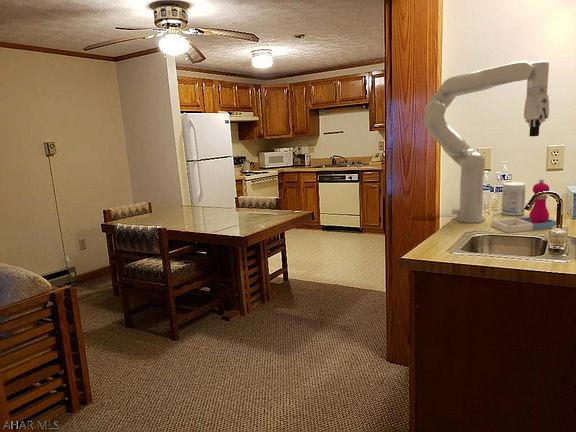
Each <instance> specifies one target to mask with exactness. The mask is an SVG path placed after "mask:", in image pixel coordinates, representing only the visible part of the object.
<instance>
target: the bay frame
mask: <svg viewBox="0 0 576 432" xmlns="http://www.w3.org/2000/svg"><path fill="white" fill-rule="evenodd" d="M531 221H532V220H531V219H530V217H529V216H524V217H516V218H515V217H514V218H503V219H493V220H491V221H490V222H491V224H490V226H491V227H493V228H495V229H498V230H500V231H502V230H503V232H505V233H507V234H508V233H517V232H519V233H520V232H529V231H538V230H539V229H540V230H548V229H549V230H550V228H551V227H553V226H555V225H556V221H557V220H554V219H551V218H549V219H548V220H547V221H546V222H547V223H536V224H533V223H530V222H531ZM551 229H552V228H551Z"/></svg>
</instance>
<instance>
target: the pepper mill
mask: <svg viewBox="0 0 576 432" xmlns="http://www.w3.org/2000/svg"><path fill="white" fill-rule="evenodd" d="M543 191H549V192H550V186H549V184H547V183H545V180H544V179H543V178H542V179H539V181H538V182H537V183H535V184H534V185H533V187H532V192H533V193H534V194H533V196H534V195H535V194H537V193H539V192H543ZM547 199H548V196H546V195H545V196H541V197H539V198H538V199H537V200H536V201H535V200H534V202H535V203H534V202H533V206H532V208H531V210H530V212H529V215H528V217H530V219H531V220H532V221H531V222H530V223H533V224H536V223H547V222H546V221H547V220H548V219H550V213H549V211H548V208H547V204H546V202H547Z"/></svg>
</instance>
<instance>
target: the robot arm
mask: <svg viewBox="0 0 576 432" xmlns="http://www.w3.org/2000/svg"><path fill="white" fill-rule="evenodd" d="M549 67H550V63H549V61H548V60H537V61H536V60H535V61H531V62H529V61H527V60H519V61H516V62H511V63H508V64H503V65H499V66H495V67H490V68H483V69H479V70H476V71H472V72H467V73H462V74H460V75H456V76H451V77H448V78H447V79H445V80H444V81H443V83H442V84H441V85H440V87H439V88H438V89H437V90H436V92H435V93H434V95H433V96H432V97H431V98H430V100H429V101H428V102H427V104H426V105H425V106H424V107H425V108H424V112H425V113H424V119H423V120H424V125H425V129H426V131H427V132H428V134H429V135H430V136H431V137H432V138H433V139H434V140H435V141H436V143H438V144H439V146H440V147H441V148H442V149H443V151H444V152H445V154H446V155H448V156H449V157H450V158H451V159H452V160H453V162H455V163H456V164H457V165H458V166H459V167H460V179H459V180H460V183H459V187H460V190H459V209H455V208H453V209H452V211H451V213H452V214H453V215H456V216H455V220H456V221H458V222H461V223H468V224H469V223H470V224H477V223H478V224H479V223H484V222H485V221H486V217H485V215H484V216H483V201H484V200H483V196H484V175H485V168H486V162H485V157H484V155H482V154H481V152H478V151H476V150H475V149H474V148H472V147H471V145H469V143H467V141H466V139H465V138H464V137H463V136H461V135H460V134H459V133H458V132H457V131H456V130H455V129H453V127H451V126H450V124H449V123H448V121H446V119H445V114H446V111H447V109H448V107H449V106H450V105H451V104H452V102H453V101H454V99H455V98H456V97H459V96H463V95H464V96H465V95H467V94H468V95H469V94H471V93H477V92H481V91H485V90H490V89H492V88H495V87H497V86H502V85H506V84H509V83H510V84H511V83H514V82H520V81H525V80H527V81H526V98H525V102H524V108H523V109H524V110H523V119H525V123H527V124H528V127H529V137H539V135H540V127H541V124H542V123H544V122H546V119H548V118H549V116H550V99H549V95H548V87H549V70H550V68H549Z"/></svg>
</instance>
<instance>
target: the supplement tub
mask: <svg viewBox="0 0 576 432" xmlns="http://www.w3.org/2000/svg"><path fill="white" fill-rule="evenodd" d="M525 202H526V183H525V182H519V181H511V182H510V181H509V182H504V183H503V184H502V201H501V203H502V205H501V213H502V214H503V215H505V216H514V217H515V216H522V215H524V213H525V209H526V208H525V206H526V205H525V204H526V203H525ZM524 208H525V209H524Z"/></svg>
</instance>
